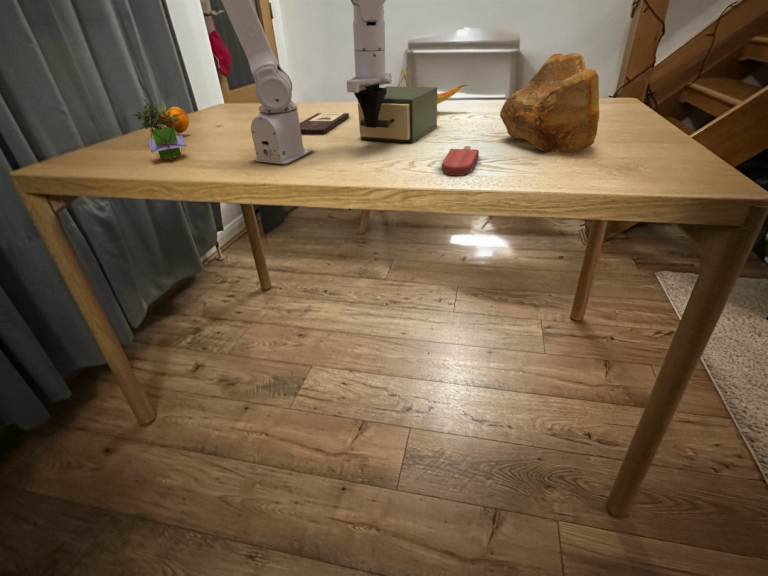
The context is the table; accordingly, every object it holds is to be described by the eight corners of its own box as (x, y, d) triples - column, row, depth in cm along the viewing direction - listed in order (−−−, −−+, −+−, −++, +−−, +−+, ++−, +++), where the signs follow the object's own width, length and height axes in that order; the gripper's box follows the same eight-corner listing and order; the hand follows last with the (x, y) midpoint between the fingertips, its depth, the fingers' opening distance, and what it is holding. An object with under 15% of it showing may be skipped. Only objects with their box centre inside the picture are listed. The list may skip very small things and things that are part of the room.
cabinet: (412, 143, 91) (412, 99, 86) (360, 139, 96) (357, 97, 91) (436, 127, 101) (437, 87, 97) (388, 124, 106) (387, 86, 102)
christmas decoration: (216, 148, 117) (177, 150, 98) (173, 135, 116) (127, 135, 97) (221, 111, 113) (182, 105, 94) (177, 98, 113) (129, 90, 94)
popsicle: (481, 143, 82) (470, 167, 71) (481, 151, 83) (470, 176, 71) (454, 142, 84) (438, 166, 72) (453, 150, 85) (438, 175, 73)
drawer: (399, 145, 86) (398, 109, 83) (350, 141, 91) (347, 107, 87) (431, 125, 99) (431, 93, 96) (386, 122, 104) (385, 92, 100)
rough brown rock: (496, 131, 98) (496, 58, 90) (573, 123, 95) (581, 47, 87) (505, 166, 80) (506, 78, 71) (601, 158, 76) (615, 65, 68)
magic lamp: (467, 115, 110) (469, 67, 104) (397, 117, 112) (396, 70, 106) (466, 110, 115) (469, 64, 109) (400, 111, 118) (399, 67, 112)
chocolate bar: (288, 129, 102) (317, 113, 117) (289, 133, 103) (318, 116, 117) (323, 129, 100) (348, 113, 114) (324, 134, 101) (349, 117, 115)
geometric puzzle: (189, 151, 86) (176, 113, 86) (153, 157, 83) (139, 118, 83) (191, 165, 93) (179, 130, 93) (157, 171, 90) (145, 136, 90)
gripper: (370, 53, 73) (372, 136, 80) (405, 48, 83) (404, 121, 91) (334, 52, 75) (340, 133, 82) (373, 48, 86) (375, 119, 93)
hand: (371, 127), depth 87 cm, fingers closed, pressing on drawer
